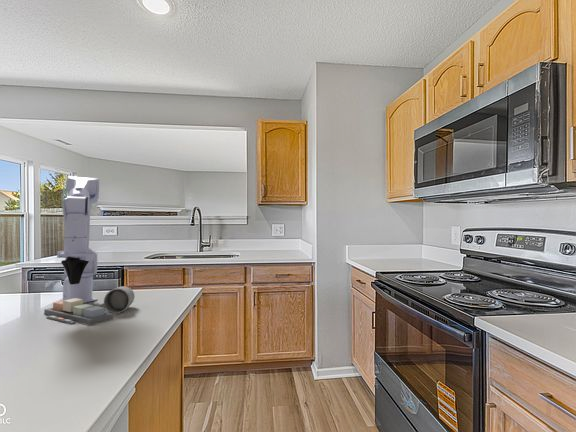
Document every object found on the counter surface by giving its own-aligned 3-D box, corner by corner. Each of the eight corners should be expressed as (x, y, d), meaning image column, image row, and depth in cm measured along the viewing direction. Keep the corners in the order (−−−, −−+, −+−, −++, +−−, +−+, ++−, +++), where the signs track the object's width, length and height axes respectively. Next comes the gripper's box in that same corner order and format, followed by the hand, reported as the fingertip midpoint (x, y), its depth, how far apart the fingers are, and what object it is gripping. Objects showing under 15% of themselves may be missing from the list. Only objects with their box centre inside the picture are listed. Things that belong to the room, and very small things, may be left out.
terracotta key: (52, 312, 105) (53, 302, 105) (65, 309, 108) (65, 299, 108) (60, 313, 103) (60, 304, 103) (72, 311, 106) (73, 301, 106)
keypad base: (44, 314, 104) (44, 309, 104) (67, 308, 110) (67, 304, 110) (90, 325, 94) (90, 320, 94) (112, 318, 100) (113, 313, 100)
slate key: (83, 319, 98) (83, 309, 98) (96, 316, 101) (96, 306, 101) (91, 321, 96) (92, 310, 96) (104, 318, 100) (104, 307, 100)
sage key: (72, 316, 100) (73, 306, 100) (85, 313, 104) (85, 303, 104) (80, 318, 99) (81, 308, 99) (93, 315, 102) (93, 305, 102)
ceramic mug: (135, 306, 115) (135, 283, 115) (129, 312, 107) (129, 288, 107) (101, 307, 113) (101, 284, 113) (92, 314, 105) (92, 289, 105)
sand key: (62, 310, 102) (63, 300, 102) (75, 307, 106) (75, 298, 106) (70, 312, 101) (70, 302, 101) (83, 309, 104) (83, 299, 104)
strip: (46, 318, 100) (46, 315, 100) (50, 317, 101) (50, 314, 101) (71, 324, 95) (71, 321, 95) (74, 323, 95) (75, 320, 95)
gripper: (46, 236, 99) (45, 283, 99) (77, 239, 92) (76, 288, 92) (71, 236, 105) (70, 279, 105) (101, 238, 99) (100, 284, 99)
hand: (74, 283), depth 99 cm, fingers closed
